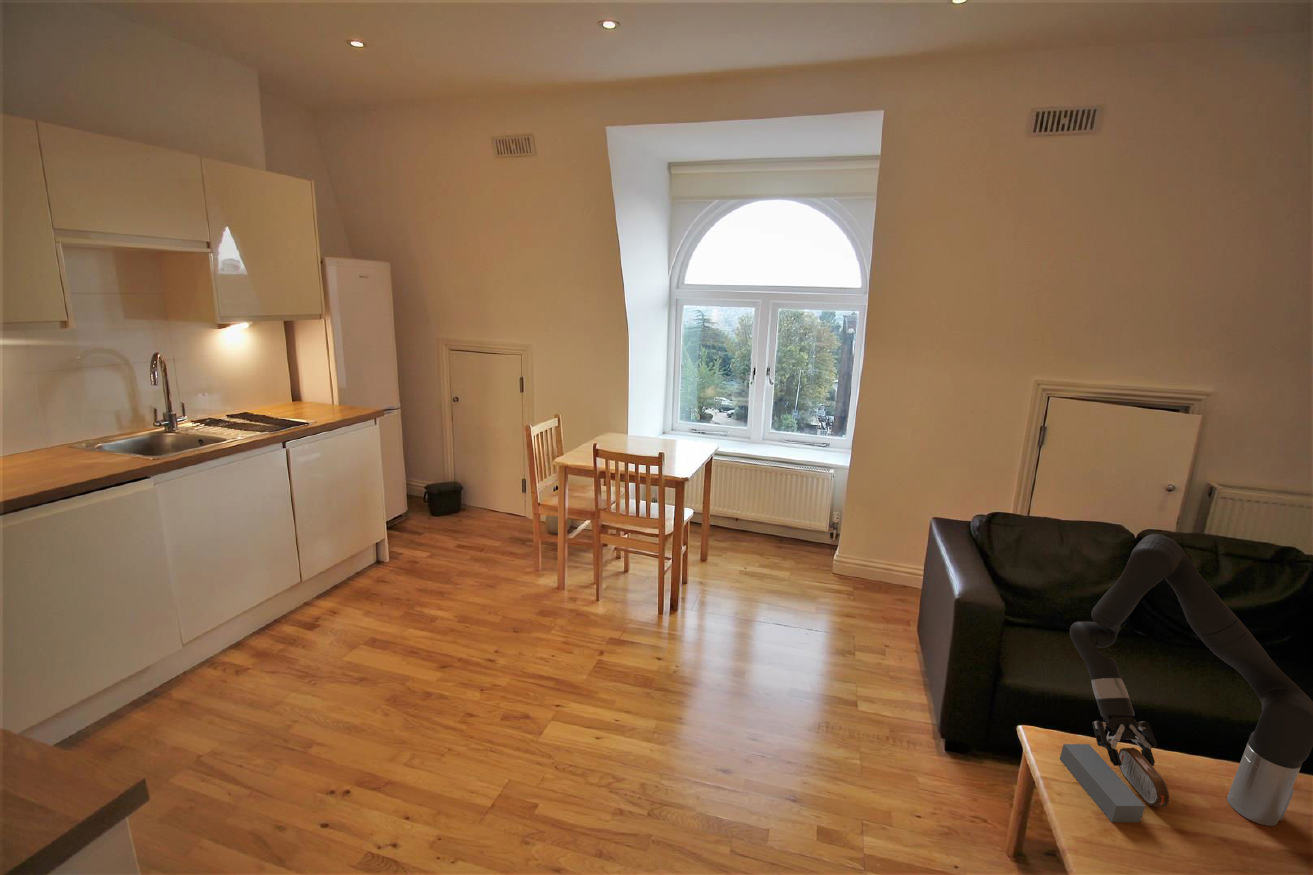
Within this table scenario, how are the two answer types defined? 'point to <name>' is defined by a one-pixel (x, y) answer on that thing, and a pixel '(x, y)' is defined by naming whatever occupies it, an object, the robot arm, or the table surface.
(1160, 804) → the tin
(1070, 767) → the base brick
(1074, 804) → the table surface
